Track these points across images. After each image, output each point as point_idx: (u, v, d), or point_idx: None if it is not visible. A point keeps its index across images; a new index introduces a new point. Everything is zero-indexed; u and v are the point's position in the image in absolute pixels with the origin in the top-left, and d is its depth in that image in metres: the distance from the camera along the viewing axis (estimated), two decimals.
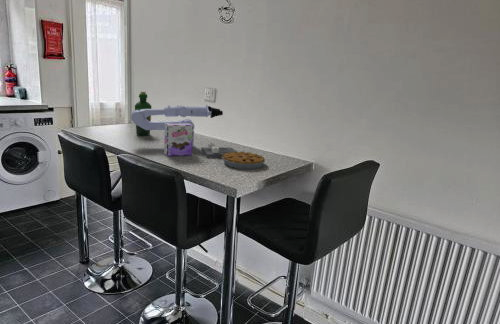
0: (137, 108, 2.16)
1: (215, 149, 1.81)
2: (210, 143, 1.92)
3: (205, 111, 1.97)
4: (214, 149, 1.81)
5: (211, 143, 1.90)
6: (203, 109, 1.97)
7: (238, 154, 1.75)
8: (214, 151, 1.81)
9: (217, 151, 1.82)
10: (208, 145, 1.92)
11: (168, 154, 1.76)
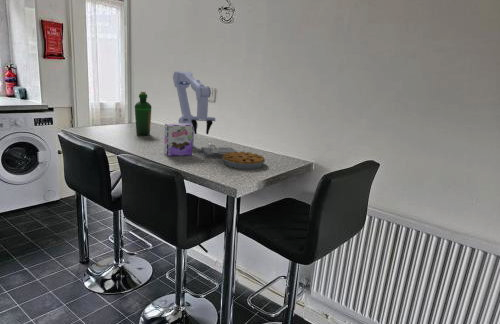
0: (137, 108, 2.16)
1: (215, 149, 1.81)
2: (210, 143, 1.92)
3: (197, 115, 1.84)
4: (214, 149, 1.81)
5: (211, 143, 1.90)
6: (198, 114, 1.83)
7: (238, 154, 1.74)
8: (214, 151, 1.81)
9: (217, 151, 1.82)
10: (208, 145, 1.92)
11: (168, 154, 1.76)
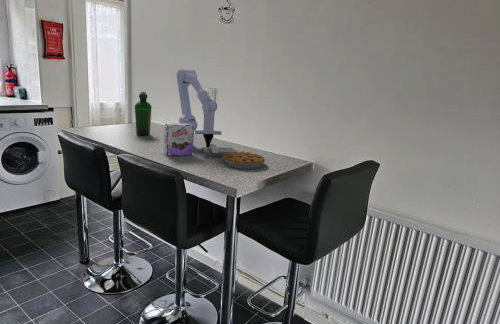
0: (137, 108, 2.16)
1: (215, 149, 1.81)
2: (211, 143, 1.92)
3: (203, 129, 1.87)
4: (214, 149, 1.81)
5: (212, 143, 1.90)
6: (205, 128, 1.86)
7: (238, 154, 1.75)
8: (214, 151, 1.81)
9: (217, 151, 1.82)
10: None
11: (168, 154, 1.76)
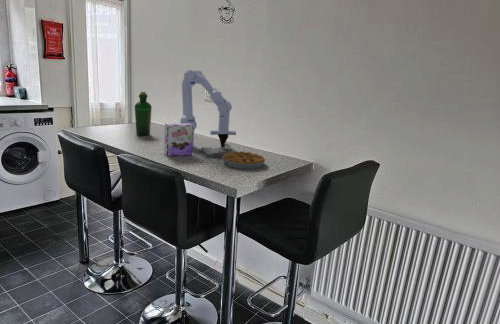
0: (137, 108, 2.16)
1: (215, 149, 1.81)
2: (225, 143, 1.95)
3: (218, 130, 1.90)
4: (214, 149, 1.81)
5: (227, 143, 1.93)
6: (220, 128, 1.89)
7: (238, 154, 1.75)
8: (214, 151, 1.81)
9: (217, 151, 1.82)
10: (224, 145, 1.95)
11: (168, 154, 1.76)
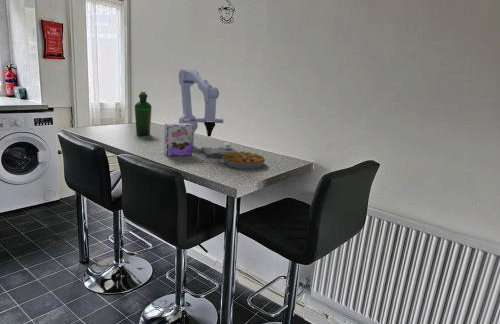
0: (137, 108, 2.16)
1: (215, 149, 1.81)
2: (226, 143, 1.95)
3: (205, 117, 1.79)
4: (214, 149, 1.81)
5: (227, 143, 1.93)
6: (206, 115, 1.78)
7: (238, 154, 1.74)
8: (214, 151, 1.81)
9: (217, 151, 1.82)
10: (224, 145, 1.95)
11: (168, 154, 1.76)
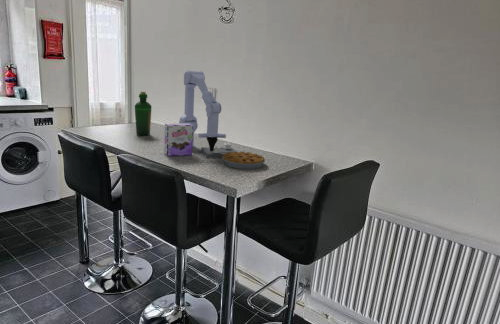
0: (137, 108, 2.16)
1: (216, 149, 1.81)
2: (226, 143, 1.95)
3: (207, 132, 1.79)
4: (215, 149, 1.81)
5: (227, 143, 1.93)
6: (208, 131, 1.78)
7: (238, 154, 1.74)
8: (215, 151, 1.81)
9: (218, 151, 1.82)
10: (224, 145, 1.95)
11: (168, 154, 1.76)
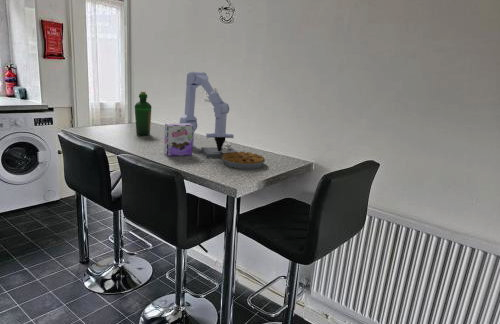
0: (137, 108, 2.16)
1: (224, 149, 1.83)
2: (226, 143, 1.95)
3: (215, 132, 1.80)
4: (223, 149, 1.82)
5: (227, 143, 1.93)
6: (216, 131, 1.79)
7: (238, 154, 1.74)
8: (223, 151, 1.83)
9: (226, 151, 1.83)
10: (224, 145, 1.95)
11: (168, 154, 1.76)
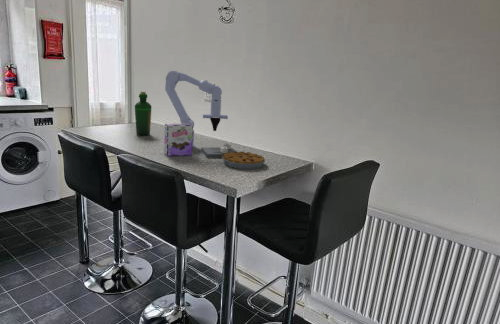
0: (137, 108, 2.16)
1: (224, 149, 1.83)
2: (226, 143, 1.95)
3: (211, 113, 1.97)
4: (223, 149, 1.82)
5: (227, 143, 1.93)
6: (212, 112, 1.96)
7: (238, 154, 1.74)
8: (223, 151, 1.83)
9: (226, 151, 1.83)
10: (224, 145, 1.95)
11: (168, 154, 1.76)
